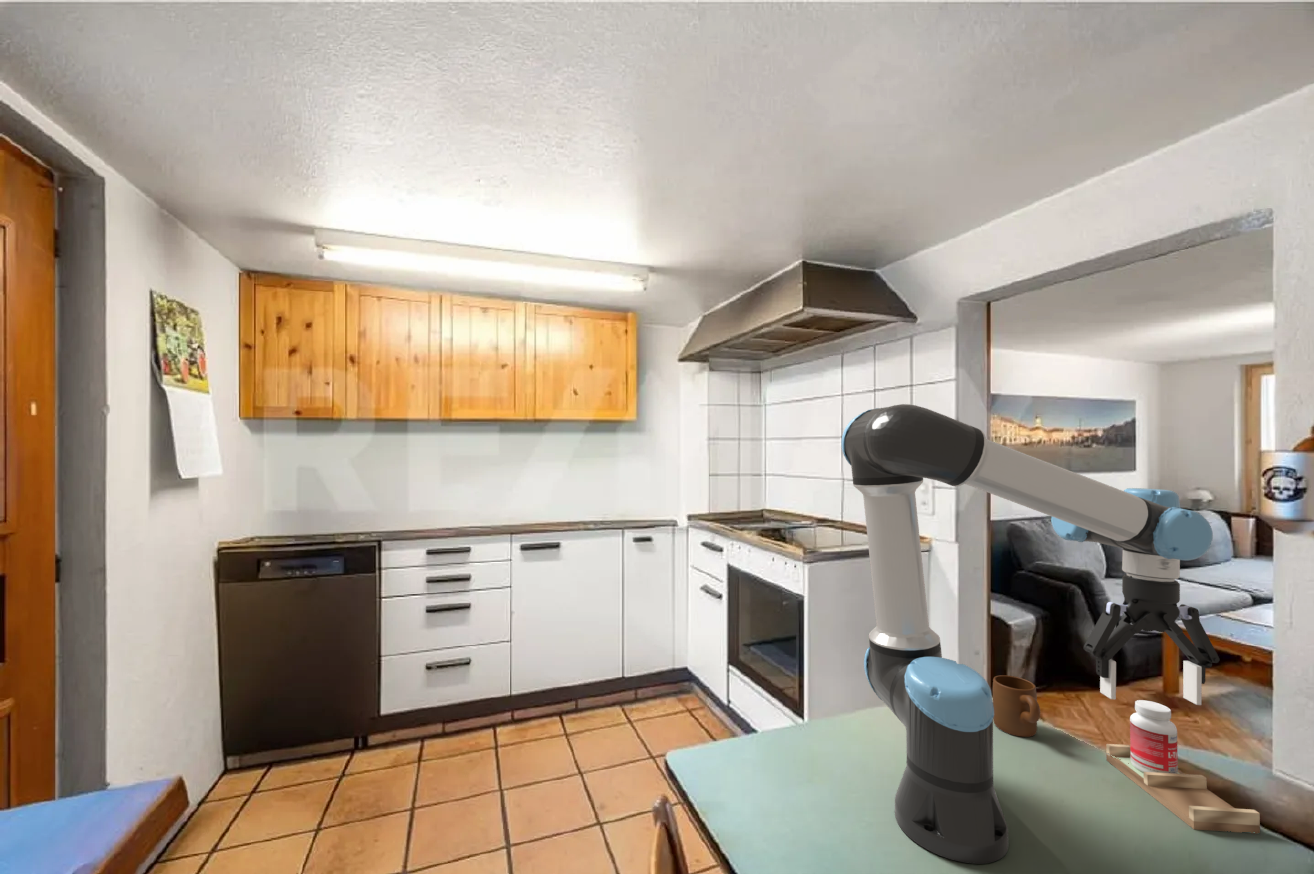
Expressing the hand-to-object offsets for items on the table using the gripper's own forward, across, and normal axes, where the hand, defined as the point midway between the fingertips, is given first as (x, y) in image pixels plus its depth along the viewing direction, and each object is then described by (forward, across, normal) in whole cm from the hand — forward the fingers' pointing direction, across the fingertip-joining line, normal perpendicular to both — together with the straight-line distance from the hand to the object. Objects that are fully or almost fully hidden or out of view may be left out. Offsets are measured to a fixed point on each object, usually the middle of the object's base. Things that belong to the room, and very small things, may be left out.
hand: (1149, 698), depth 96 cm
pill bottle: (+12, +1, 0) cm, 12 cm away
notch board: (+14, +1, -4) cm, 14 cm away
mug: (+14, -14, +13) cm, 24 cm away
